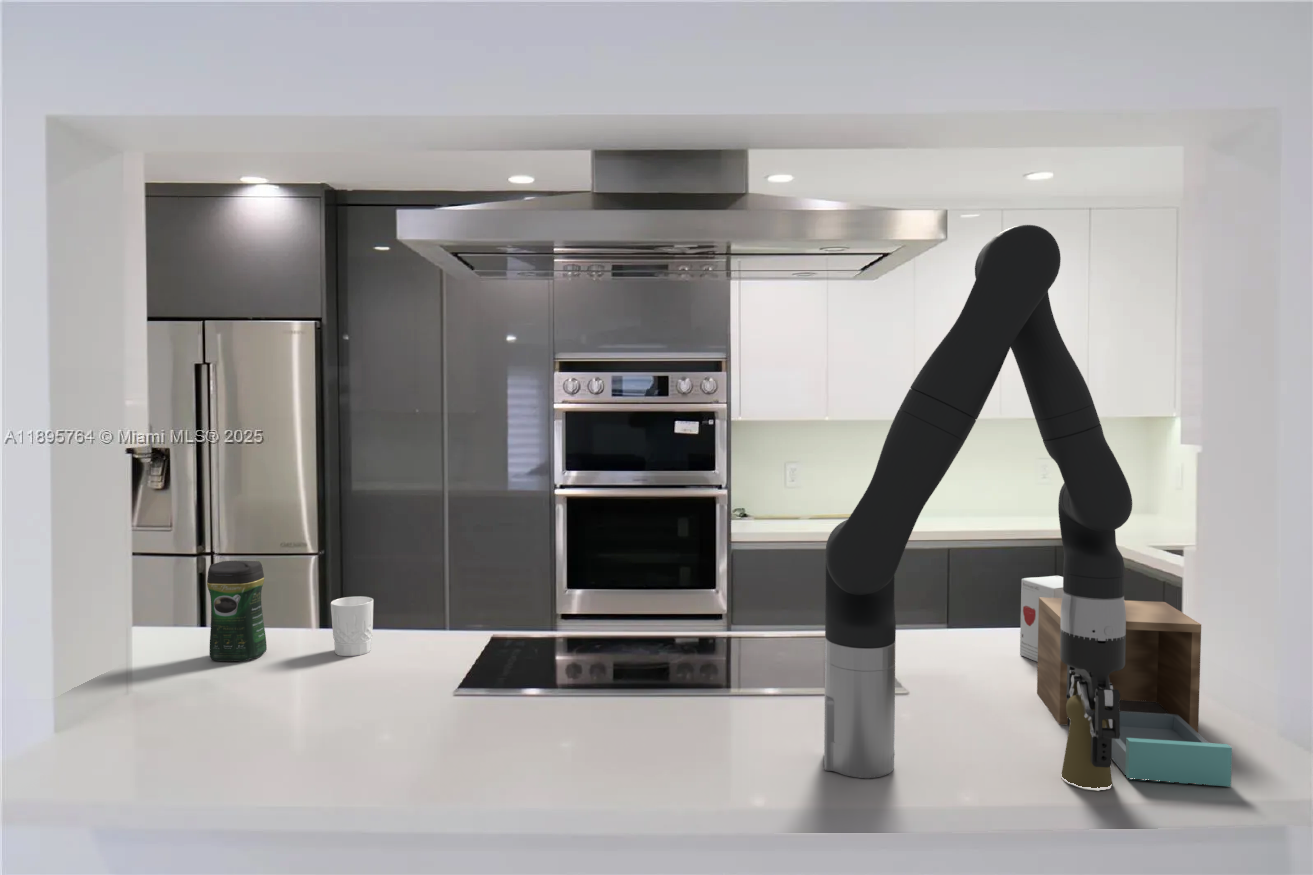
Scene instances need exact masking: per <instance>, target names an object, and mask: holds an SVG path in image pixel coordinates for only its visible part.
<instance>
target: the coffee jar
mask: <svg viewBox="0 0 1313 875" xmlns="http://www.w3.org/2000/svg"><path fill="white" fill-rule="evenodd" d="M264 573H265V572H264V567H263V565H262V563H261V561H258V560H221V561H218V562H216V563H212V564H210V565H209V567H208V571H207V577H206V578H207V579H206V587H207V590H208V591H209V596H210V605H211V606H210V608H211V609H210V610H211V612H210V634H209V658H210V659H211V660H212V661H217V662H218V661H219V662H243V661H248V660H251V659H258V658H260V657H262V656H263V655H264V654H265V653H267V652H266V651H267V637H266V636H267V635H266V630H265V623H264V616H263V613H264V612H263V607H262V606H263V604H262V590H263V585H264V583H265V574H264Z"/></svg>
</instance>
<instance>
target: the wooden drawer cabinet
mask: <svg viewBox="0 0 1313 875" xmlns="http://www.w3.org/2000/svg"><path fill="white" fill-rule="evenodd" d="M1124 602H1125V609H1126V648H1125V666H1124V668H1123V669H1121V670H1119V671H1114V672H1111V673H1110V674H1109V680H1110V683H1112V685H1113V689H1116V690H1119V693H1120V701H1127V702H1129V701H1130V702H1132V701H1133V702H1143V703H1145V702H1146V703H1147V702H1148V703H1157V704H1158V705H1159V706H1160V707H1161V708H1162V709H1163V710H1164V711H1165V712H1167V714H1178V715H1179V716H1180V717H1181V718H1182V719H1183V720H1184V721H1185V722H1187V723H1188V724H1189V725H1190V726H1191V727H1192V728H1193V729H1194V730H1195V731H1196V732H1198V733H1199V717H1200V716H1199V714H1200V686H1201V685H1200V682H1201V679H1200V678H1201V653H1202V652H1201V651H1202V650H1201V646H1202V624H1201V623H1200V622H1198V621H1197V620H1195V619H1193V618H1191V617H1190V616H1188V615H1187V614H1186V613H1184V612H1182V611H1180V610H1179V609H1177V608H1175V607H1174V606H1172V605H1170V604H1169V603H1167V602H1165V601H1153V600H1151V601H1146V600H1125V599H1124ZM1061 603H1062V598H1046V597H1039V616H1038V662H1037V671H1036V672H1037V674H1036V676H1037V678H1036V680H1037V681H1036V694H1037V696H1038V697H1039V698H1040V699H1041V701H1042V703H1043V704H1044V705H1045V707H1046V708H1047V709H1048V711H1049V712H1050V714H1051V715H1052V716H1053V718H1054V719H1055V721H1056V722H1057V723H1058V725H1061V726H1062V725H1065V726H1066V725H1068V723H1069V717H1068V716H1067V712H1066V704H1067V701H1068V700H1067V698H1066V694H1067V665H1066V664H1065V663H1063V662H1062V660H1061V659H1060V627H1061Z"/></svg>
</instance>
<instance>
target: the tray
mask: <svg viewBox="0 0 1313 875" xmlns="http://www.w3.org/2000/svg"><path fill="white" fill-rule="evenodd" d="M1106 728H1107V726H1106ZM1232 754H1233V747H1232V746H1231V745H1229V744H1228V743H1214V742H1213V743H1212V742H1209V741H1208V740H1206V738H1204V737H1203V736H1202V735H1201V734H1200V733H1199V731H1198V732H1196V731H1195V730H1194V729H1193V728H1192V727H1191V726H1190V725H1189V724H1188V723H1187V722H1185V721H1184V720H1183V719H1182V718H1181V717H1180V716H1179V715H1178V714H1169V713H1160V712H1143V711H1142V712H1141V711H1130V710H1129V711H1128V710H1127V711H1126V710H1120V738H1119V739H1112V757H1111V760H1112V761H1113V762H1114V763H1115V764H1116V765H1117V767H1118V768H1119V769H1120V771H1121V772H1122V773H1123V775H1124V776H1125V775H1126V776H1125V777H1126V779H1128V778H1133V779H1134V778H1135V779H1144V780H1143V781H1146V780H1145V779H1147V780H1148V779H1149V780H1158V781H1157V782H1160V781H1168V782H1167V783H1174V782H1179V783H1178V784H1188V783H1196V784H1195V785H1202V784H1204V786H1217V787H1218V786H1220V787H1230V788H1231V786H1232V760H1233V755H1232ZM1159 780H1160V781H1159ZM1169 781H1170V782H1169ZM1205 784H1206V785H1205ZM1207 784H1208V785H1207Z"/></svg>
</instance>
